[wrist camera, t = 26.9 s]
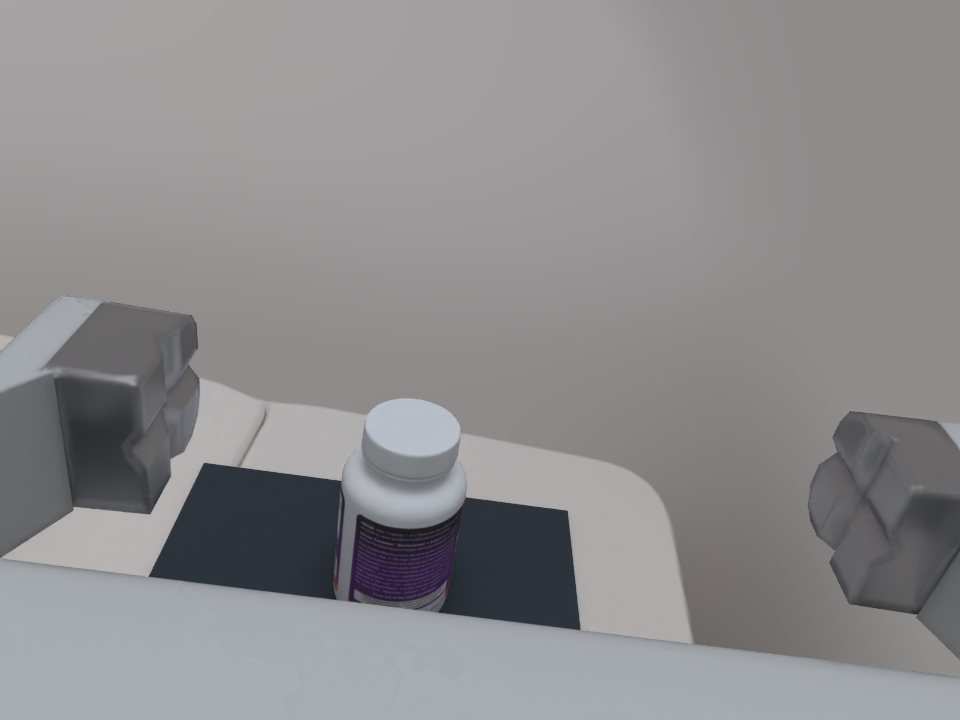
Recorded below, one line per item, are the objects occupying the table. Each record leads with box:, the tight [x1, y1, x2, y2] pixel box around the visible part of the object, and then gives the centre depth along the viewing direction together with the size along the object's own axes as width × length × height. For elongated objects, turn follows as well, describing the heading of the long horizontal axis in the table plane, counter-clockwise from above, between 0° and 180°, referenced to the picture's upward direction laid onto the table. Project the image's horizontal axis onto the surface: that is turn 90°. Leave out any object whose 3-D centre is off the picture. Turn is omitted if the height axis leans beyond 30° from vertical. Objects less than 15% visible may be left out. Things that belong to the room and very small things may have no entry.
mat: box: [149, 463, 580, 630], centre depth 38 cm, size 20×14×1 cm
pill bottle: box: [334, 399, 467, 613], centre depth 36 cm, size 5×5×10 cm
